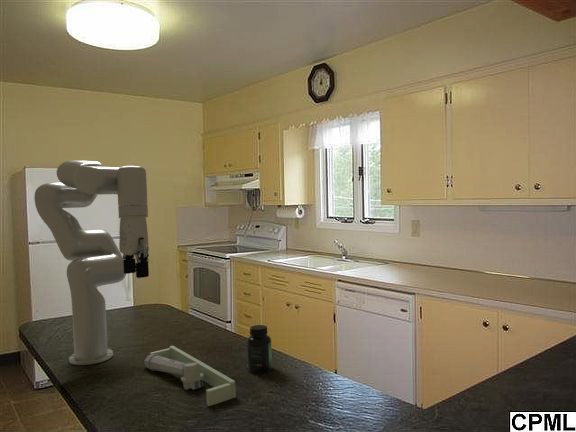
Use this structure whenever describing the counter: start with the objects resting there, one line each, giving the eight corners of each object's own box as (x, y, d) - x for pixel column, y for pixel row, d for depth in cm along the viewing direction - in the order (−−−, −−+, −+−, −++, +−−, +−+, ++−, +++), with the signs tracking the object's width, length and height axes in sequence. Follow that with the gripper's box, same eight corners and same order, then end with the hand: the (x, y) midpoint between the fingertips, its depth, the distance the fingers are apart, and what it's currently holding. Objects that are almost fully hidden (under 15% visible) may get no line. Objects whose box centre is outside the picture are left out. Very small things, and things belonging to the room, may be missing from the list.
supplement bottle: (276, 369, 129) (275, 327, 128) (256, 375, 124) (255, 332, 124) (263, 363, 134) (261, 322, 133) (243, 368, 130) (241, 327, 129)
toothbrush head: (156, 351, 136) (205, 358, 118) (159, 374, 135) (208, 384, 118) (140, 356, 132) (188, 364, 115) (142, 379, 132) (191, 391, 114)
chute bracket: (150, 364, 136) (150, 351, 135) (173, 358, 140) (172, 345, 140) (209, 406, 107) (208, 389, 107) (235, 397, 111) (235, 381, 111)
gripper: (109, 212, 128) (112, 273, 129) (130, 213, 115) (133, 281, 115) (135, 211, 133) (138, 270, 133) (159, 211, 119) (161, 277, 120)
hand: (136, 275), depth 124 cm, fingers open, 9 cm apart
